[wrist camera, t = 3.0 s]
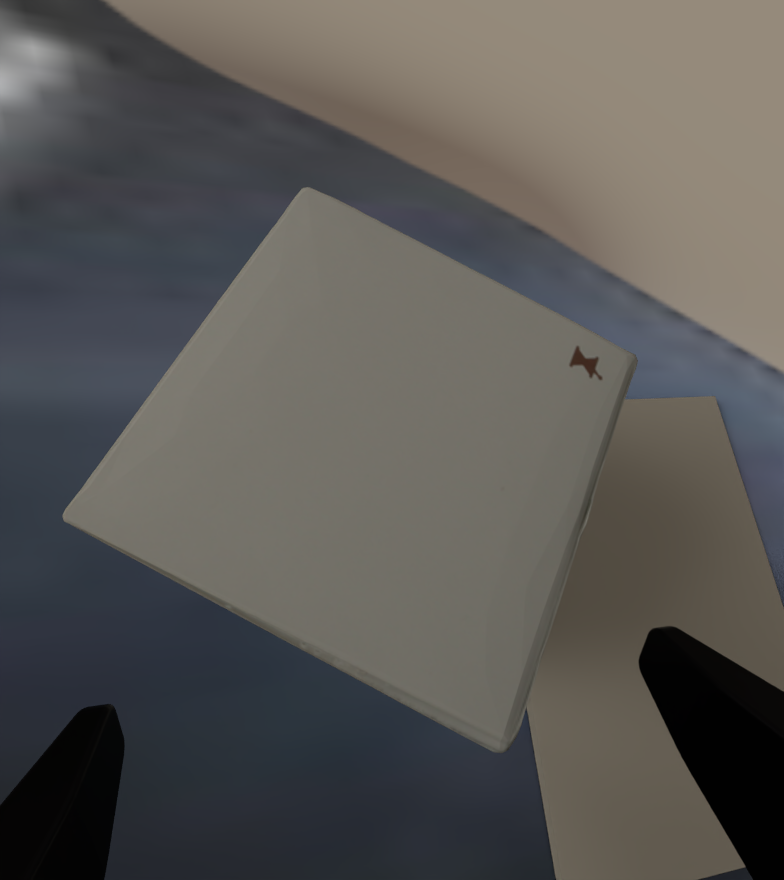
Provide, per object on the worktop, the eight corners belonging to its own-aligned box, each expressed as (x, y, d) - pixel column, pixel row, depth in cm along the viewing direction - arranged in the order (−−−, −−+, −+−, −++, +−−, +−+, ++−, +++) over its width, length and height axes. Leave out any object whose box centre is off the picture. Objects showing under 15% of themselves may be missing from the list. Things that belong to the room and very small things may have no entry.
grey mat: (844, 832, 20) (858, 837, 19) (560, 905, 17) (567, 912, 17) (707, 400, 25) (715, 396, 25) (475, 409, 23) (479, 404, 22)
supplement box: (300, 413, 21) (307, 164, 10) (458, 496, 21) (659, 352, 10) (199, 578, 19) (35, 515, 7) (380, 672, 19) (526, 771, 7)
